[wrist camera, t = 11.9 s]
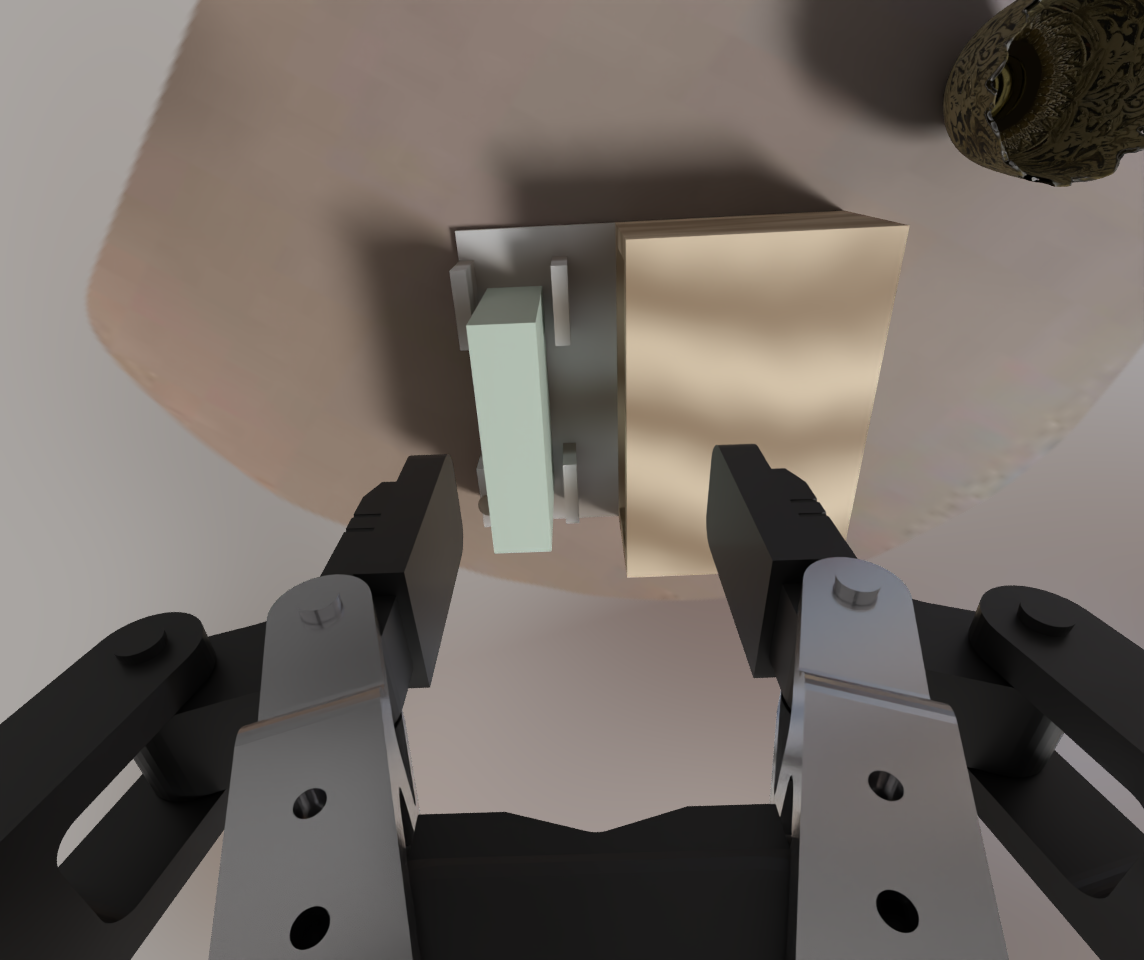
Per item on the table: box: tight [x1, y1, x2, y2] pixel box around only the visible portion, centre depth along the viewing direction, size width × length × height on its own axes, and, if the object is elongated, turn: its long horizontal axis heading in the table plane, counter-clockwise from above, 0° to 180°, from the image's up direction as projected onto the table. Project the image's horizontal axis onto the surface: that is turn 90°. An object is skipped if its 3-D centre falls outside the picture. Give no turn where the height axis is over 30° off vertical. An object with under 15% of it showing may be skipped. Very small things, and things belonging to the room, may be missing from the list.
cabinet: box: [449, 211, 910, 578], centre depth 33 cm, size 18×20×7 cm
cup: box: [943, 0, 1144, 187], centre depth 26 cm, size 8×7×8 cm
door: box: [466, 286, 555, 553], centre depth 33 cm, size 12×4×8 cm, turn 2°
